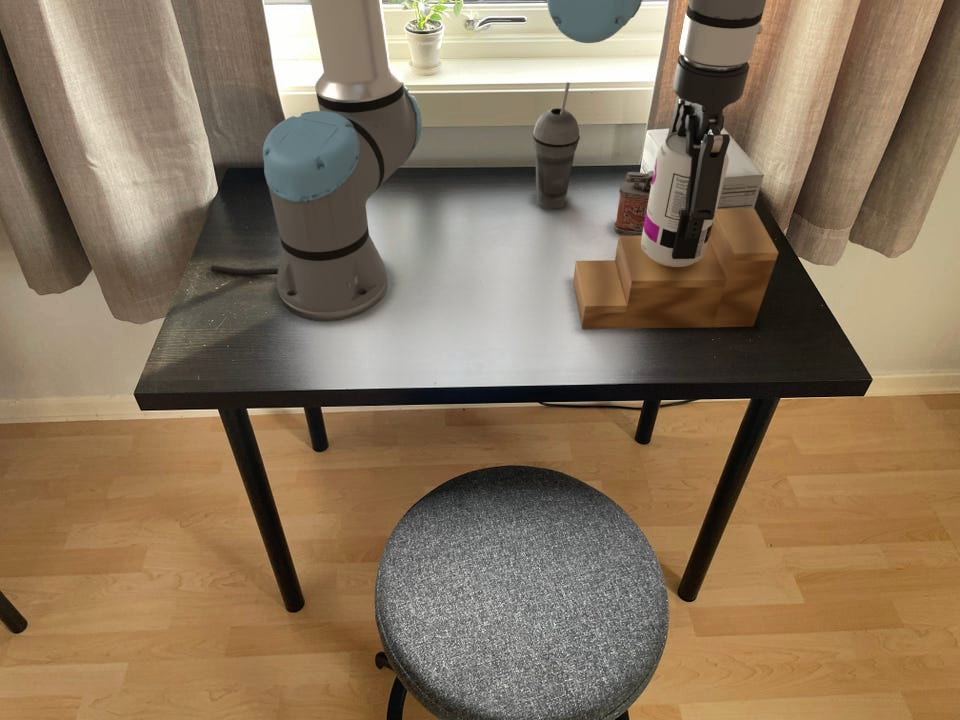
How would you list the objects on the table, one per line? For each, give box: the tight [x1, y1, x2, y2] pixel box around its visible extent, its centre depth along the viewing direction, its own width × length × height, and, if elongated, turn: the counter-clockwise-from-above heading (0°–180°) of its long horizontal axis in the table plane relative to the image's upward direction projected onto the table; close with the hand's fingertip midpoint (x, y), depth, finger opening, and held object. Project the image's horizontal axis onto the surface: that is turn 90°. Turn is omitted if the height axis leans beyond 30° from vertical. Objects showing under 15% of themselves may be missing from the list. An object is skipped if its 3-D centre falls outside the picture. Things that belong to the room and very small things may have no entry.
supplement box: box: [639, 126, 765, 209], centre depth 118 cm, size 17×13×9 cm
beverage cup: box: [532, 82, 581, 210], centre depth 114 cm, size 7×7×20 cm
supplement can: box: [641, 132, 729, 267], centre depth 91 cm, size 8×8×15 cm
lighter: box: [613, 171, 654, 236], centre depth 111 cm, size 8×3×10 cm, turn 84°
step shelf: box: [572, 208, 779, 330], centre depth 98 cm, size 23×10×12 cm, turn 92°
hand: (675, 236), depth 94 cm, fingers closed on supplement can, 8 cm apart
